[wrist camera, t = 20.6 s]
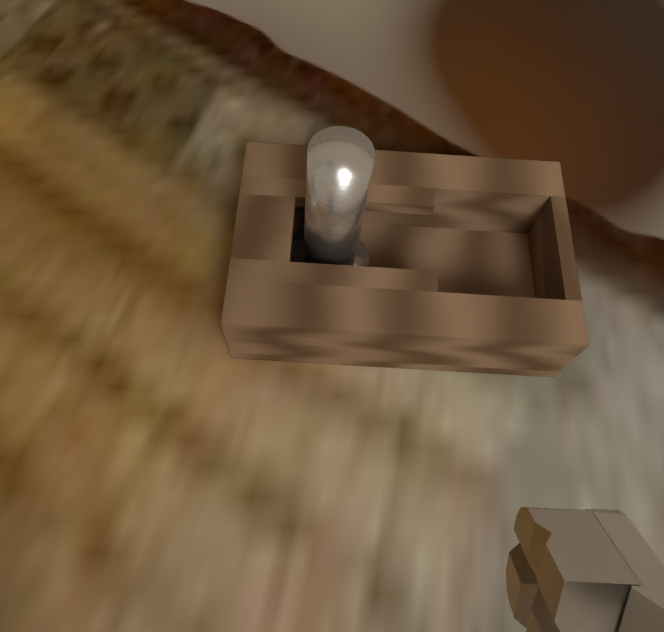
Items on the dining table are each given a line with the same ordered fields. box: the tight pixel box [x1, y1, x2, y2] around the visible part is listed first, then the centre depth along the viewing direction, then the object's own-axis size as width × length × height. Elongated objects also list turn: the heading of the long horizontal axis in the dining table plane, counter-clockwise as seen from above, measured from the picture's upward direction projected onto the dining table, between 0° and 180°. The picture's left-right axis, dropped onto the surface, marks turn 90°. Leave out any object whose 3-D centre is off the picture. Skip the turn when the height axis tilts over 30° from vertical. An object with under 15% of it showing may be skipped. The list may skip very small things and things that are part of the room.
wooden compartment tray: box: [221, 141, 589, 377], centre depth 40 cm, size 22×14×6 cm, turn 87°
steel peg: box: [290, 126, 375, 267], centre depth 36 cm, size 6×6×12 cm
